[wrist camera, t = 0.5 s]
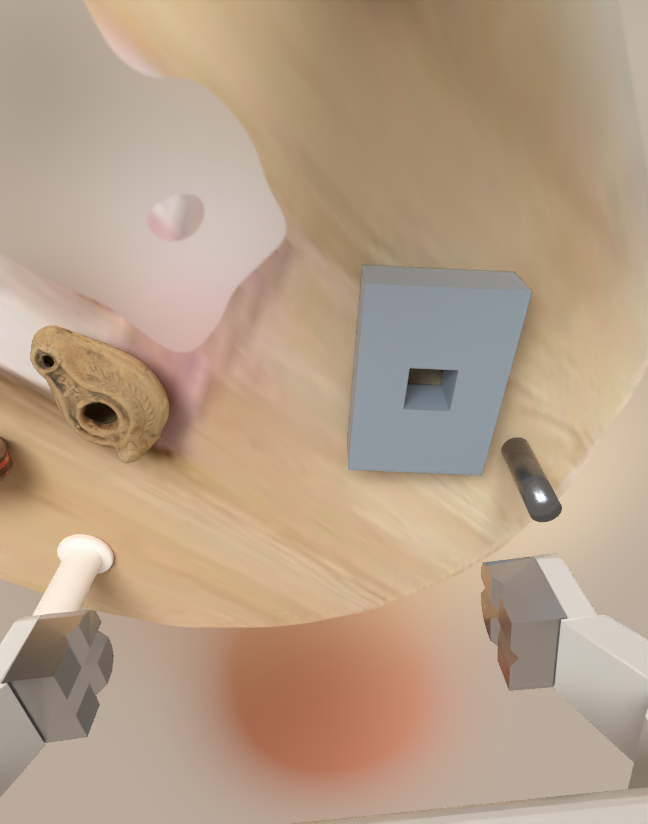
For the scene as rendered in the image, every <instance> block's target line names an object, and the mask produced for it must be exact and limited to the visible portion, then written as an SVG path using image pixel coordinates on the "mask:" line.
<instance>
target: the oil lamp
mask: <svg viewBox="0 0 648 824" xmlns="http://www.w3.org/2000/svg"><path fill="white" fill-rule="evenodd" d="M30 360H31V362H32V364H33V366H34V368H35V369H36V370H37V372H38V373H39V374H40V375H41V376H43V377H44V378H45V379H46V380H47V383H48V385H49V386H50V389H51V391H52V393H53V396H54V398H55V401H56V403H57V406H58V408H59V410H60V411H61V413H62V414H63V416H64V417H65V418H66V419H67V421H68V422H69V424H70V425H71V426H72V427H73V429H74V430H75V431H76V432H77V433H78V434H79V435H80V436H81V437H82V438H84V439H86V440H87V441H89V442H91V443H95V444H98V445H101V446H104V447H109V448H116V449H117V456H118V458H119V459H120V460H122V461H123V462H125V463H129V462H133V461H135V460H137V459H139V458H140V457H141V456H142V455H143V454H144V453H145V452H146V451H148V450H149V449H150V448H151V447H152V446H153V445H154V444H155V443H156V442H157V441H158V440H159V438H160V437H161V434H160V433H161V431H162V429H163V427H164V426H165V424H166V422H167V420H168V418H169V401H168V397H167V395H166V392H165V390H164V388H163V386H162V385H161V383H160V381H159V380H158V378H157V377H156V376H155V374H154V373H153V372H152V371H151V370H150V369H149V368H148V367H147V366H146V365H145V364H144V363H143V362H141V361H140V360H138V359H136V358H135V357H133V356H131V355H129V354H127V353H125V352H123V351H121V350H119V349H116V348H114V347H112V346H110V345H107V344H105V343H102V342H99V341H96V340H93V339H91V338H88V337H86V336H83V335H81V334H78V333H76V332H72V331H69V330H67V329H64V328H61V327H58V326H47V327H44V328H42V329H40V330H39V331H38V332H37V333H36V334H35V335H34V337H33V340H32V345H31V352H30Z"/></svg>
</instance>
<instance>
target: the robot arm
mask: <svg viewBox="0 0 648 824" xmlns="http://www.w3.org/2000/svg"><path fill="white" fill-rule="evenodd" d="M481 578H482V580H483V583H484V585H485V589H484V590H483V592H482V593H481V602H482V612H483V618H484V622H485V626H486V629H487V632H488V635H489V638H490V640H491V641H492V642H493V643H494V644H496V645H497V646H498V662H499V665H500V667H501V670H502V673H503V675H504V678H505V681H506V683H507V686H508V688H509V690H522V689H535V688H547V687H554V690H555V691H557V692H558V693H559V694H560V695H561V696H562V697H563V698H564V699H565V700H566V701H567V702H569V703H570V704H571V705H572V706H573V707H574V708H575V709H576V710H577V711H578V712H579V713H581V714H582V715H583V716H584V717H585V718H586V719H587V720H588V721H589V722H590V723H591V724H593V725H594V726H595V727H596V728H597V729H598V730H599V731H600V732H601V733H602V734H604V736H606V737H607V738H608V739H609V740H610V741H611V742H612V743H613V744H615V746H617V747H618V748H619V749H620V750H621V751H622V752H623V753H624V754H625V755H626V756H627V757H628V758H629V759H631V760H632V761H633V762H634V766H633V770H632V774H631V779H630V783H629V787H628V789H625V790H615V791H605V792H595V793H585V794H576V795H566V796H556V797H546V798H537V799H528V800H517V801H507V802H497V803H488V804H479V805H470V806H458V807H449V808H439V809H430V810H419V811H410V812H400V813H390V814H380V815H371V816H362V817H351V818H341V819H332V820H322V821H312V822H304V823H293V824H648V640H647V639H645V638H644V637H642V636H640V635H639V634H637V633H635V632H634V631H632V630H631V629H629V628H627V627H626V626H624V625H622V624H621V623H619V622H617V621H616V620H614V619H612V618H611V617H609V616H607V615H598V614H597V613H596V611H595V609H594V608H593V606H592V605H591V603H590V602H589V600H588V598H587V597H586V595H585V594H584V592H583V590H582V589H581V587H580V586H579V584H578V582H577V581H576V580H575V578H574V576H573V574H572V573H571V571H570V570H569V569H568V567H567V565H566V563H565V562H564V560H563V559H562V557H561V556H560V555H558V554H557V553H553V554H546V555H539V556H532V557H524V558H516V559H508V560H500V561H493V562H485V563H483V564H482V567H481ZM100 624H101V620H100V619H99V617H98V615H97V613H96V611H92V610H85V611H74V612H63V613H52V614H44V615H36V616H26V617H21V618H20V619H18V620H17V621H15V622H14V624H13V625H12V627H11V629H10V630H9V632H8V633H7V635H6V636H5V638H4V640H3V641H2V643H1V644H0V797H1V796H2V795H3V793H4V792H5V791H6V790H7V789H8V788H9V787H10V786H11V784H12V783H13V782H14V781H15V780H16V779H17V778H18V776H19V775H20V774H21V773H22V772H23V771H24V769H25V768H26V767H27V766H28V765H29V764H30V763H31V761H32V760H33V759H34V758H35V757H36V756H37V755H38V753H39V752H40V751H41V750H42V749H43V748H44V747H45V743H48V742H54V741H62V740H69V739H76V738H83V737H87V736H88V734H89V731H90V729H91V726H92V723H93V721H94V718H95V715H96V713H97V710H98V708H99V702H98V699H97V696H96V695H97V694H98V693H99V692H100V691H101V690H102V689H103V688H104V687H105V686H106V685H107V684H108V681H109V678H110V675H111V672H112V666H113V650H112V645H111V643H110V640H109V638H108V637H107V636H106V635H104V634H103V633H101V632H100V631H98V628H99V626H100Z"/></svg>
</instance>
